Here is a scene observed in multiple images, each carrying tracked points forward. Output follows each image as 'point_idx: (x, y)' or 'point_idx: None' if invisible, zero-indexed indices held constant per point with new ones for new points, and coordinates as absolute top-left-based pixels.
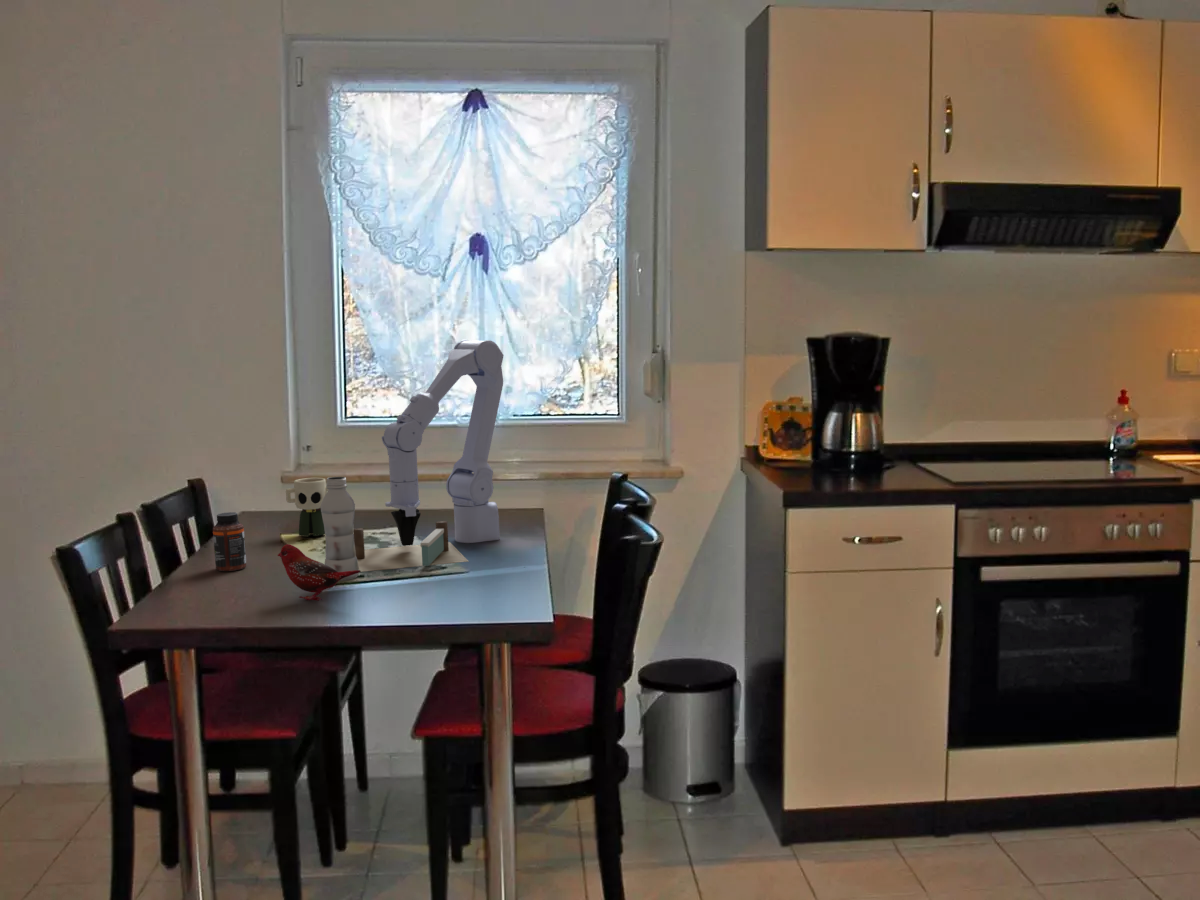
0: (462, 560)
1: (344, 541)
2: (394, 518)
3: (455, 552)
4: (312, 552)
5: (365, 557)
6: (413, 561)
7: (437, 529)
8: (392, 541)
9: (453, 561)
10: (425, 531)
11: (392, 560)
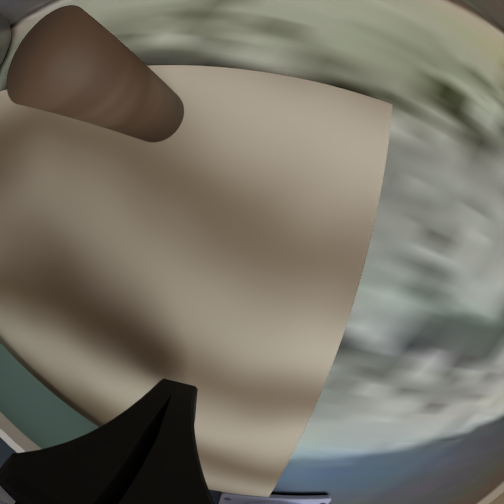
0: None
1: None
2: (125, 498)
3: None
4: (494, 59)
5: (159, 147)
6: (18, 313)
7: None
8: (481, 372)
9: None
10: (481, 445)
11: (45, 254)
